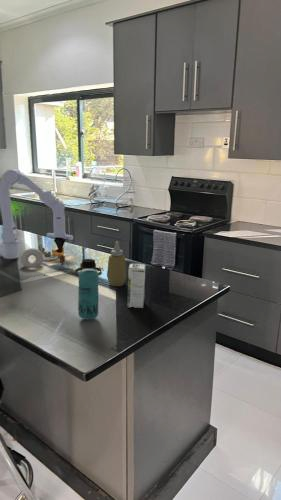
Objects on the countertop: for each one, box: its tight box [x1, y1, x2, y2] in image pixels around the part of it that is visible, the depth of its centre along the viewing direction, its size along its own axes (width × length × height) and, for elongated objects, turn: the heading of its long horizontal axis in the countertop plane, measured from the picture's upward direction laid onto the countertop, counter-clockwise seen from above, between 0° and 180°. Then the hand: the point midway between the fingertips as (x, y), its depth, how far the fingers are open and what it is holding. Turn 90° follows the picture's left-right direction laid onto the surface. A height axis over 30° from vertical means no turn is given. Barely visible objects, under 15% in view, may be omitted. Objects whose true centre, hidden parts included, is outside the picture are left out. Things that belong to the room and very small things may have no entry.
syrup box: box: [126, 263, 146, 309], centre depth 132 cm, size 6×6×14 cm
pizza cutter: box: [42, 247, 65, 261], centre depth 185 cm, size 15×10×4 cm, turn 147°
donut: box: [20, 247, 43, 269], centre depth 170 cm, size 10×4×10 cm, turn 112°
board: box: [29, 247, 81, 267], centre depth 185 cm, size 20×17×5 cm
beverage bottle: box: [77, 258, 100, 320], centre depth 118 cm, size 6×7×20 cm
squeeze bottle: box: [106, 240, 127, 287], centre depth 152 cm, size 8×8×18 cm
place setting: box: [59, 256, 105, 276], centre depth 171 cm, size 18×20×6 cm
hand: (60, 252), depth 187 cm, fingers closed, pressing on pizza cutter
